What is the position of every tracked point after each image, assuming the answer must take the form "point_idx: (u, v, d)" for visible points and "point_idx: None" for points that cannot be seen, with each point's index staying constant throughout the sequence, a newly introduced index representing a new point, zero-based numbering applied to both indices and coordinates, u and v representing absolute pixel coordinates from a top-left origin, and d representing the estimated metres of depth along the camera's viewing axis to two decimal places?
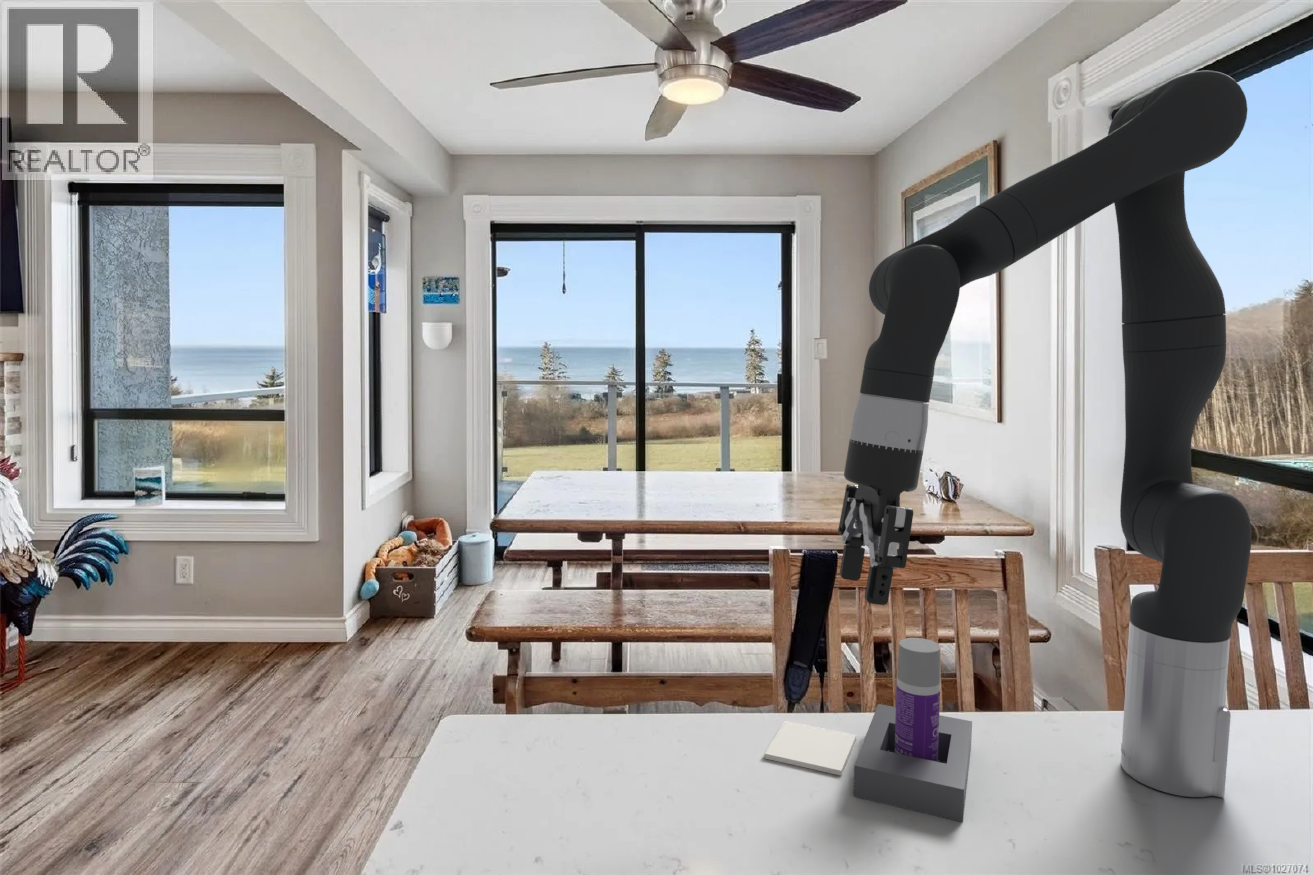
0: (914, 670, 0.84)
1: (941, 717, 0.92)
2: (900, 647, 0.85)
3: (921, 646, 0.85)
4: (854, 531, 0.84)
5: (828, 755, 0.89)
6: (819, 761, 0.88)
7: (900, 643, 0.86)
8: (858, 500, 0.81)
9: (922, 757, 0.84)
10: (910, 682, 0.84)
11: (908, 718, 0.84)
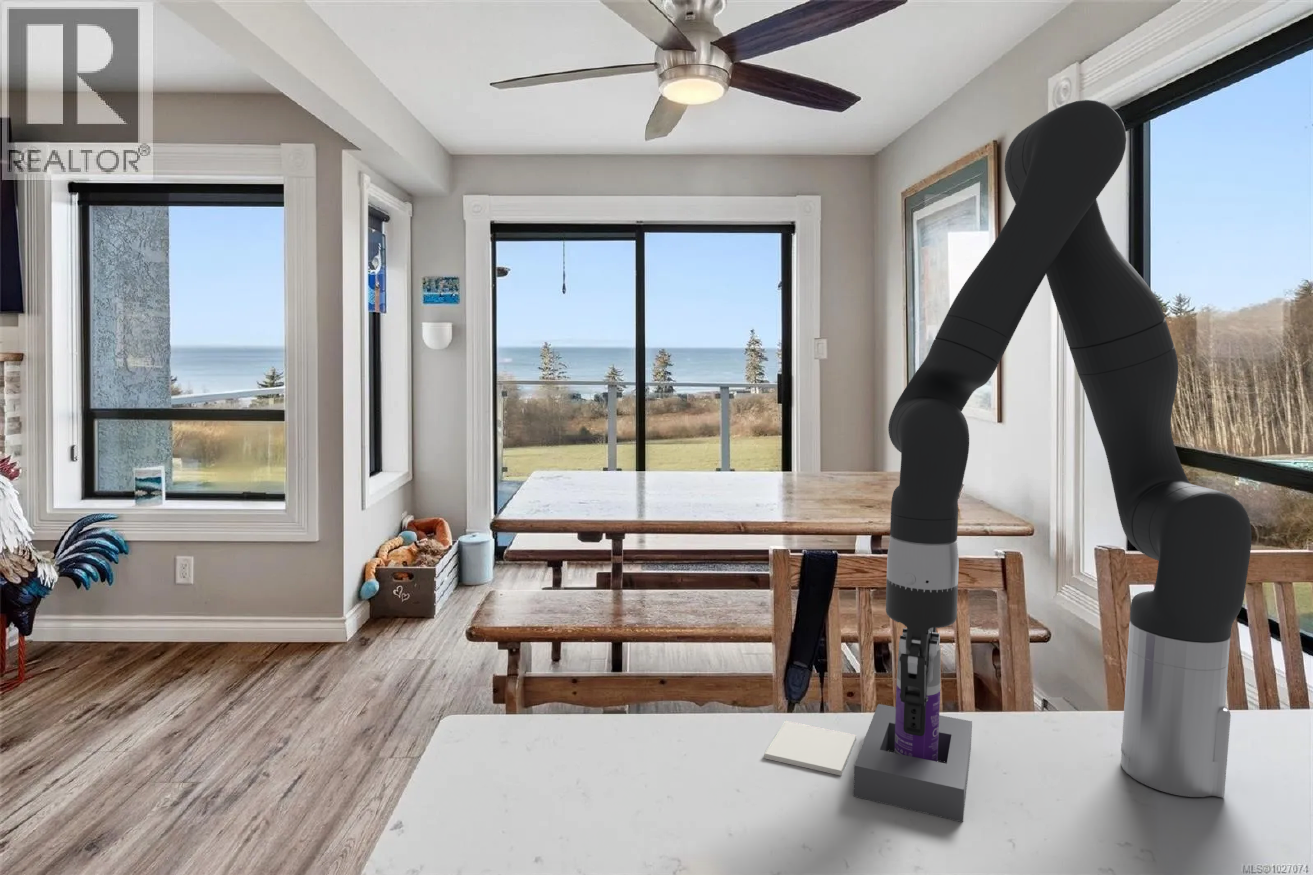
0: None
1: (941, 717, 0.92)
2: None
3: None
4: None
5: (828, 755, 0.89)
6: (819, 761, 0.88)
7: None
8: (906, 629, 0.87)
9: (922, 757, 0.84)
10: None
11: None
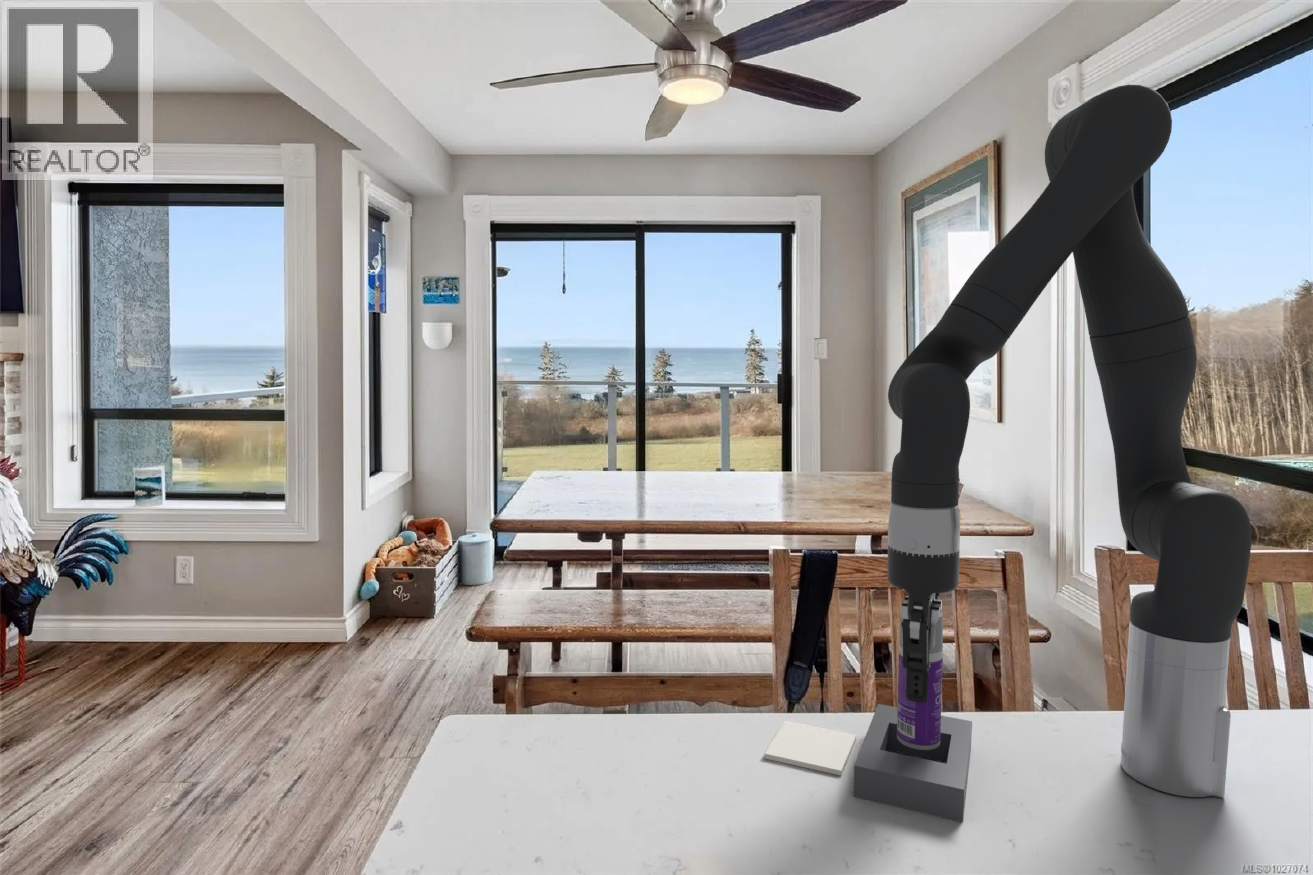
0: None
1: (941, 717, 0.92)
2: None
3: None
4: None
5: (828, 755, 0.89)
6: (819, 761, 0.88)
7: None
8: (908, 597, 0.86)
9: (925, 724, 0.84)
10: None
11: None
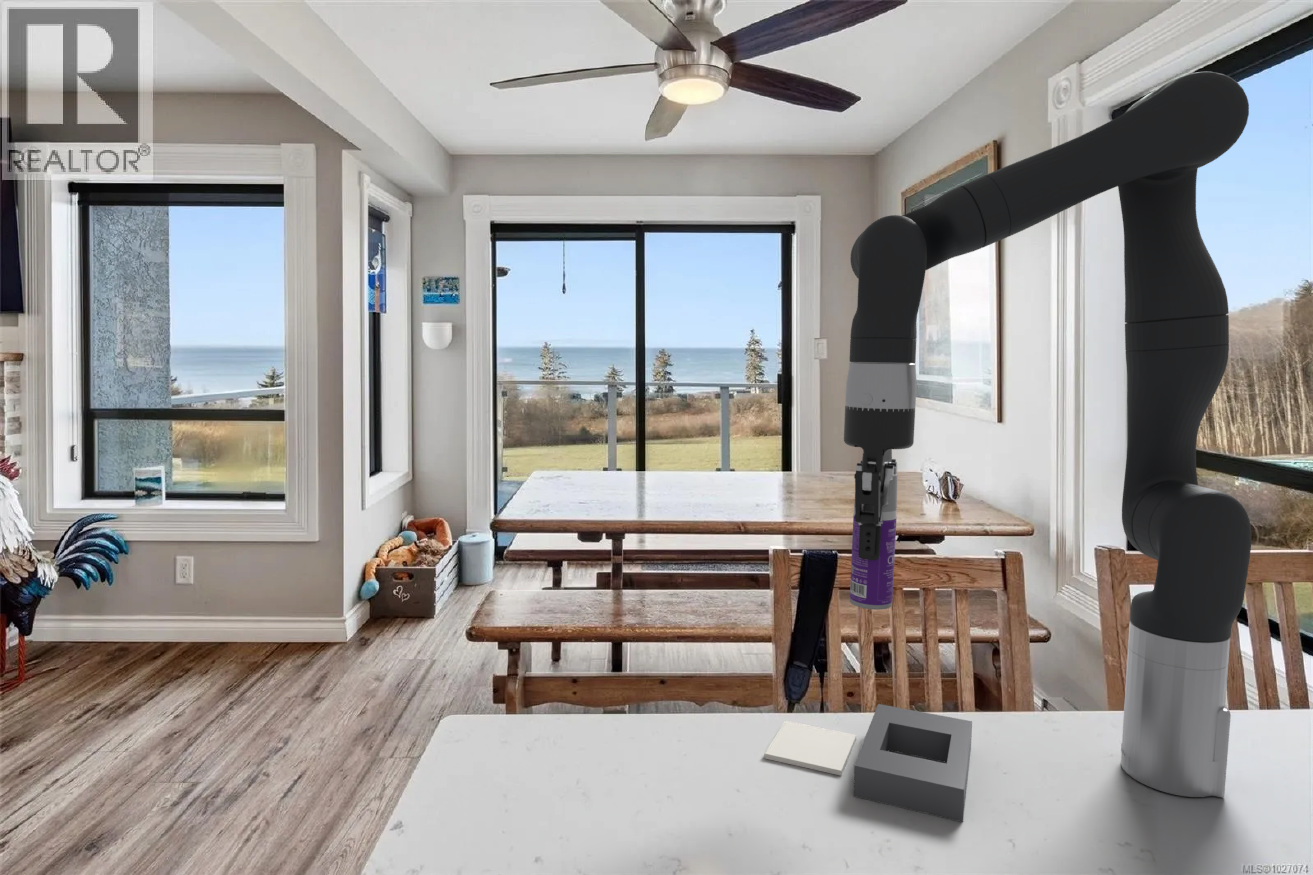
0: None
1: (941, 717, 0.92)
2: None
3: None
4: None
5: (828, 755, 0.89)
6: (819, 761, 0.88)
7: None
8: None
9: (877, 583, 0.84)
10: (866, 508, 0.84)
11: None
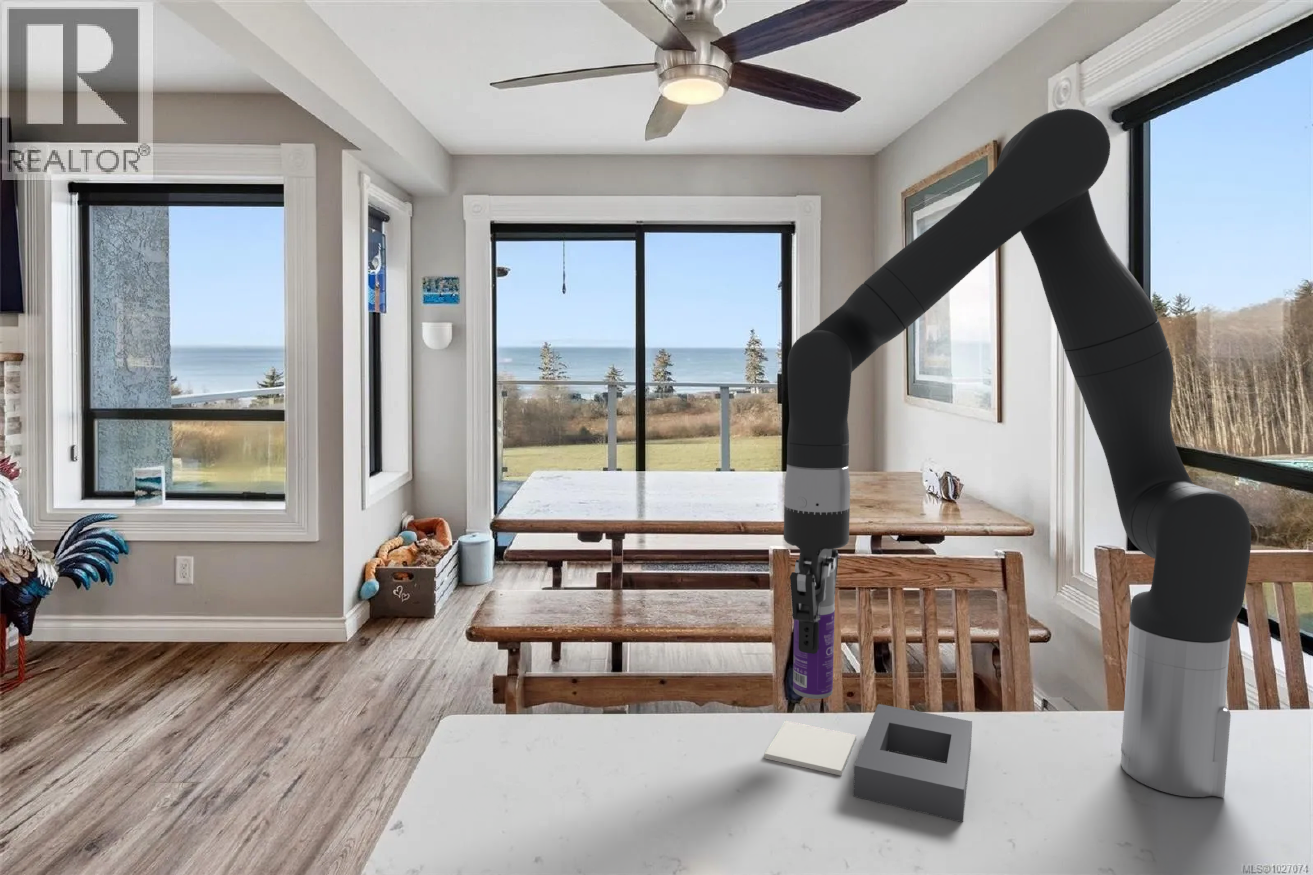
0: None
1: (941, 717, 0.92)
2: None
3: None
4: None
5: (828, 755, 0.89)
6: (819, 761, 0.88)
7: None
8: None
9: (816, 674, 0.88)
10: None
11: None
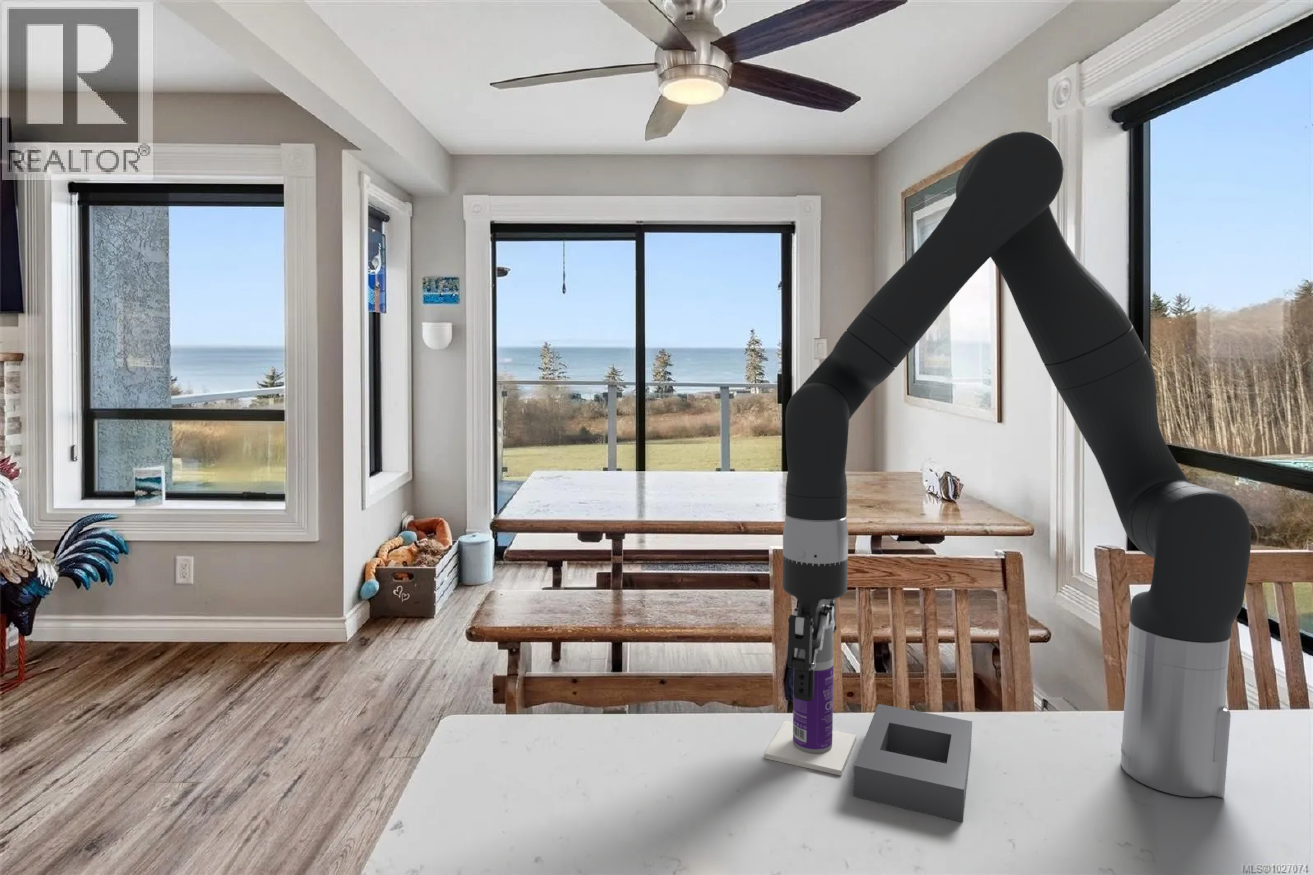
0: None
1: (941, 717, 0.92)
2: None
3: None
4: None
5: (828, 755, 0.89)
6: (819, 761, 0.88)
7: None
8: None
9: (815, 729, 0.89)
10: None
11: None
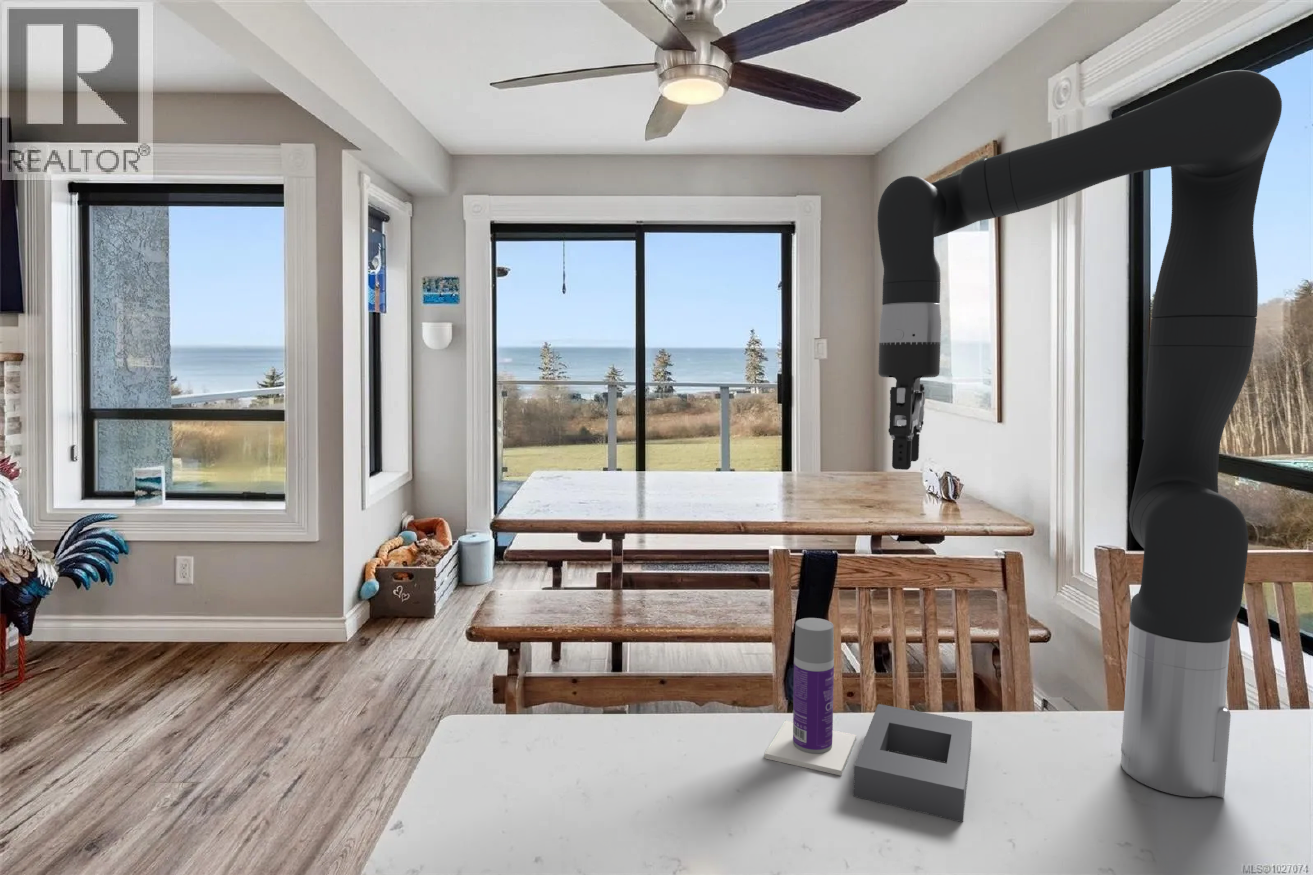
0: (807, 647, 0.89)
1: (941, 717, 0.92)
2: (796, 626, 0.90)
3: (815, 625, 0.90)
4: None
5: (828, 755, 0.89)
6: (819, 761, 0.88)
7: (796, 622, 0.91)
8: None
9: (816, 730, 0.89)
10: (804, 659, 0.89)
11: (802, 693, 0.89)
